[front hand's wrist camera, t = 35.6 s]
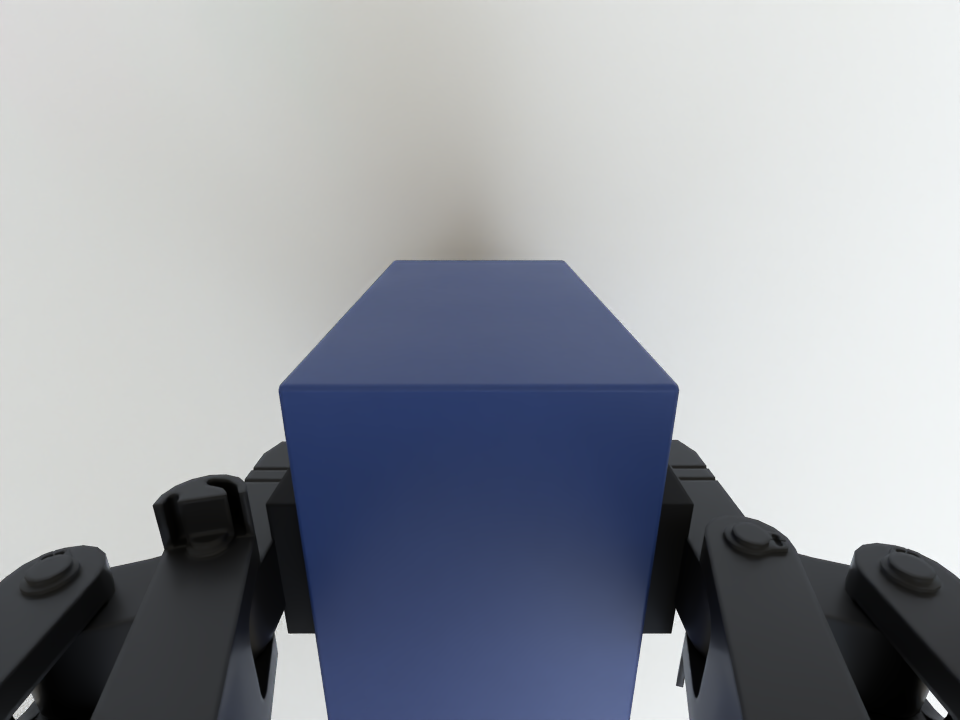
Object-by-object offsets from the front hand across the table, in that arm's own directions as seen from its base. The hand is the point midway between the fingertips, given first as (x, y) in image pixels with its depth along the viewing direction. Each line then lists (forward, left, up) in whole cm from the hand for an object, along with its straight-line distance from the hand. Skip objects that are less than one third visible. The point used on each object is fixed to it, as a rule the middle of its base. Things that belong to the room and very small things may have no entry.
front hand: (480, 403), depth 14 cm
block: (0, 0, -2) cm, 2 cm away
